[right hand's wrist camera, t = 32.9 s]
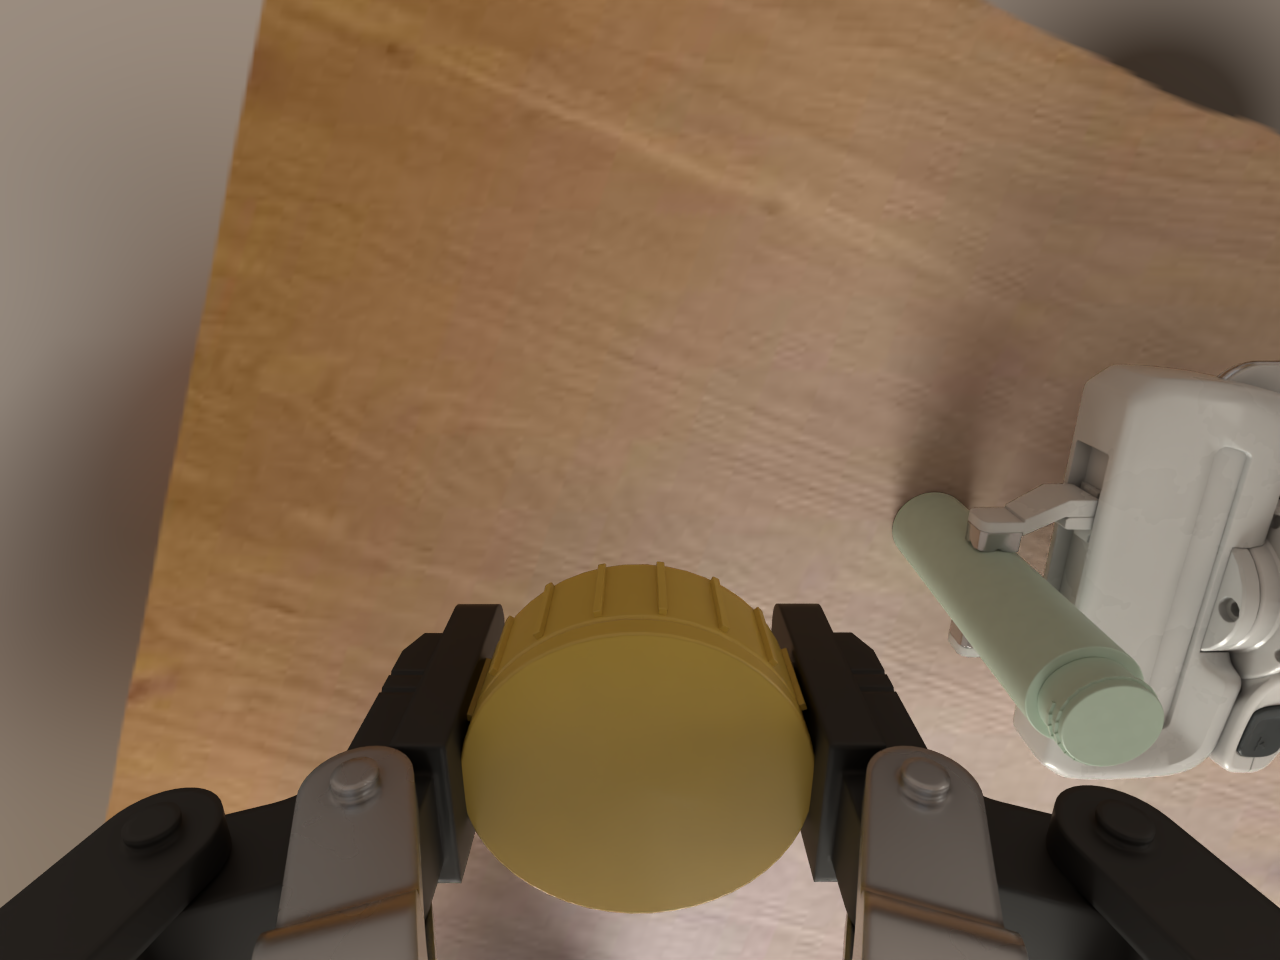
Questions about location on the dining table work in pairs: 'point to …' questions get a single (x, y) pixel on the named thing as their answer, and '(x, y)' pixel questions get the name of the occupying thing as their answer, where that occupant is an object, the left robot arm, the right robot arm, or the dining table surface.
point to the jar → (1032, 638)
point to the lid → (637, 742)
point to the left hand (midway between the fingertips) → (962, 584)
